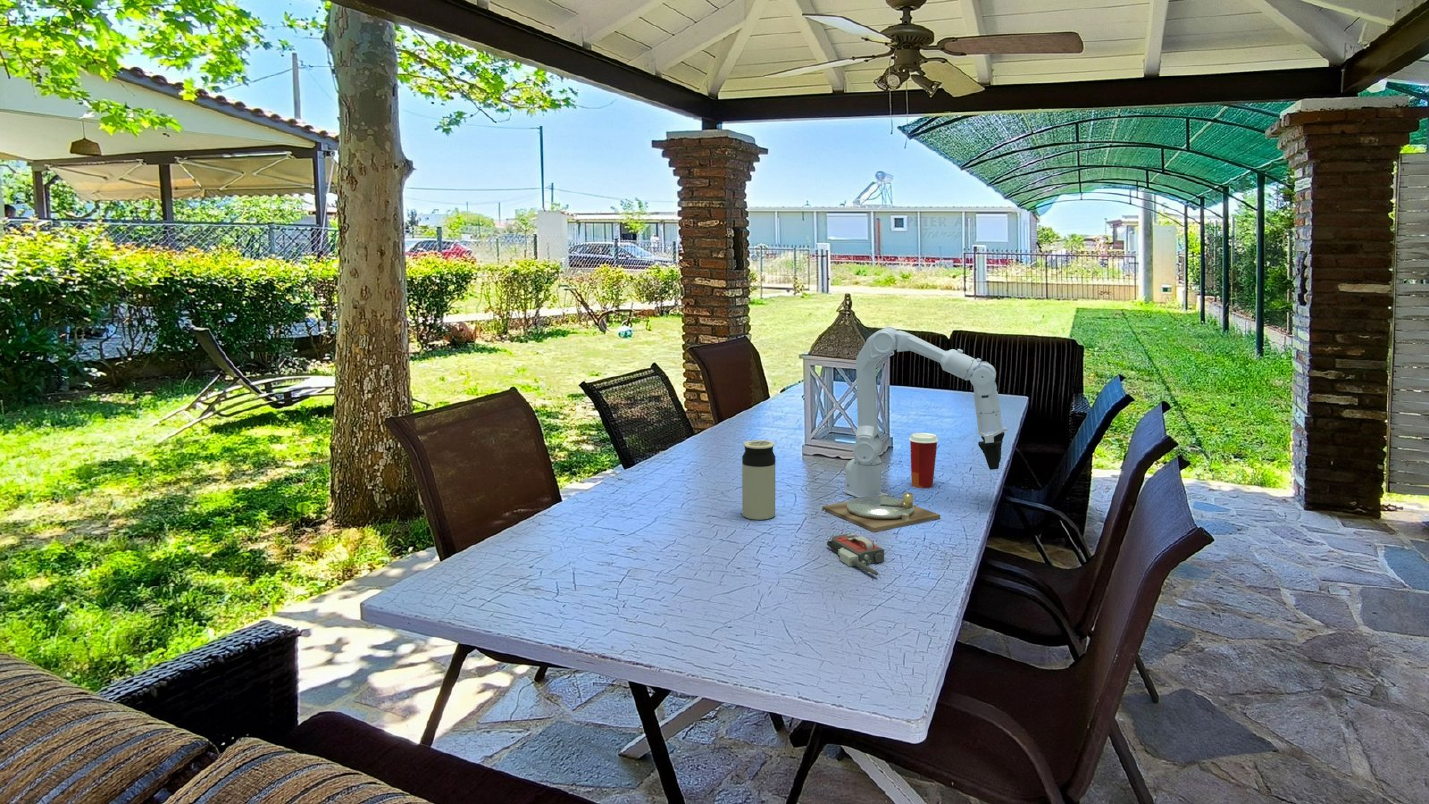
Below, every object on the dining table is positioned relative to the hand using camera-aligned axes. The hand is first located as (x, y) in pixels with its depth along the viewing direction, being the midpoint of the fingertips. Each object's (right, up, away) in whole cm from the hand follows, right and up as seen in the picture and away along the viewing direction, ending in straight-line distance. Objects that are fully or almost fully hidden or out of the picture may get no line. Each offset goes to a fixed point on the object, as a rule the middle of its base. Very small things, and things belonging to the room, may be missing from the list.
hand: (995, 465), depth 215 cm
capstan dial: (-29, -10, -4) cm, 31 cm away
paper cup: (-13, -7, +22) cm, 27 cm away
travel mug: (-59, -12, -4) cm, 60 cm away
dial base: (-29, -12, -4) cm, 32 cm away
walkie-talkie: (-39, -18, -35) cm, 55 cm away
